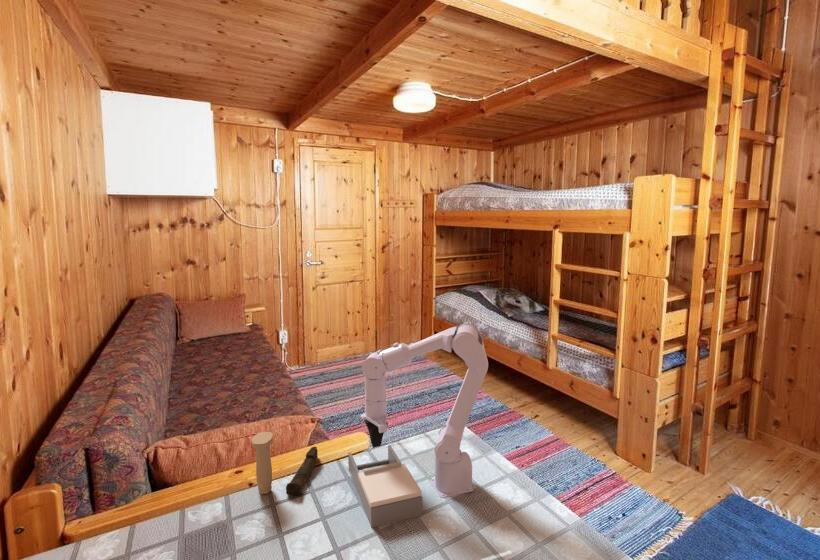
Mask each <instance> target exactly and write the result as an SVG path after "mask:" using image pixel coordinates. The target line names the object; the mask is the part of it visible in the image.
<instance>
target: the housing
mask: <svg viewBox="0 0 820 560" xmlns="http://www.w3.org/2000/svg"><path fill="white" fill-rule="evenodd" d="M347 454H348V455H347V457H348V459H347V461H348V471H349V473H350V475H351V478H352V481H353V483H354V486H355V488H356V491H357V494H358V497H359V499H360V501H361V505H362V507H363V510H364V513H365V515H366V518H367V521H368V523H369V526H370V528H371V529H372V528H376V527H380V526H384V525H388V524H392V523H396V522H400V521H404V520H408V519H409V520H410V519H413V518H416V517H420V516H421V517H422V516H423V496H419V497H415V498H410V499H406V500H402V501H397V502H393V503H389V504H385V505H380V506H376V507H372V508H370V505H369V503H368V500H367V498H366V495H365V493H364V490H363V488H362V485H361V483H360V480H359V478H358V473H360V471H359V470H360V469H366V468H370V467H375V466H380V465H386V464H391V463H396V462H401V460H400V458H399V456H398V454H397V453H396V451H395V450H394V448H393V447H392V445H391V444H390V445H387V459H384V460H383V459H382V460H378V461H377V460H376V461H371V462H367V463H363V464H362V463H361V464H356V461H355V458H354V456H353V453H352V452H348V453H347ZM379 464H380V465H379ZM401 464H403V463H402V462H401ZM374 465H375V466H374ZM369 466H370V467H369Z"/></svg>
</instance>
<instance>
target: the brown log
mask: <svg viewBox="0 0 820 560" xmlns="http://www.w3.org/2000/svg"><path fill="white" fill-rule="evenodd" d="M317 463H318V447H317V446H312V447H310V449H309V450H308V451H307V452H306V453H305V459H304V460H303V462H302V464H301V465H300V467H299V468H298V469H297V471H296V473H295V474H294V476H293V477H292V479H291V480H290V482H288V483H287V484H286V486H285V493H286V495H287V496H288V497H292V498H293V497H299V496H301V493H302V490H303V487H304V485H305V484H306V481H307V480H308V479H309V476H310V474H311V473H312V471H313V469H316V466H317Z"/></svg>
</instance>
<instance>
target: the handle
mask: <svg viewBox="0 0 820 560" xmlns="http://www.w3.org/2000/svg"><path fill="white" fill-rule="evenodd" d="M273 436H274V435H273V433H272V432H271V431H261V432H258V433H256V434H255V435H254V436H253V437H252V439H251V446H252V448H253V449H255V451H256V452H255V453H256V455H255V458H256V460H255V465H256V467H255V473H256V474H255V476H256V482H257V483H256V484H257V489H258V492H259V494H260V495H268V494H269V493H270V492H271V491H272V489H273V488H272V487H273V486H272V483H273V467H272V460H271V450H270V449H271V448H270V446H271V445H272V444H273V440H274V437H273Z"/></svg>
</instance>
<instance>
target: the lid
mask: <svg viewBox="0 0 820 560" xmlns="http://www.w3.org/2000/svg"><path fill="white" fill-rule="evenodd" d="M401 463H402V462H396V463H391V464H389V463H385V464H380V465H375V466H370V467H365V468H362V471H359V473H358V478H359V480H360V483H361V485H362V488H363V490H364V493H365V495H366V498H367V500H368V503H369V505H370V508H372V507H376V506H380V505H385V504H389V503H393V502H397V501H402V500H406V499H410V498H415V497H419V496H422V495H423V494H422V489H421V488H420V486H419V485H418V482H417V481H416V480H415V478H414V477H413V475H412V473H411V472H410V470H409V468H408V467H407V465H406V463H402V464H401ZM422 497H423V496H422Z"/></svg>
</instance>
